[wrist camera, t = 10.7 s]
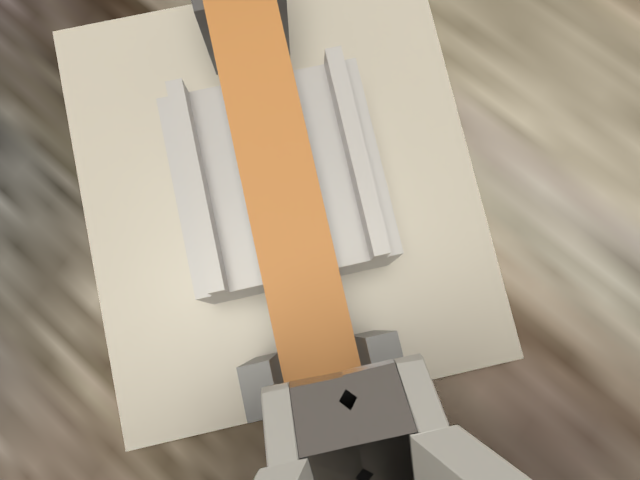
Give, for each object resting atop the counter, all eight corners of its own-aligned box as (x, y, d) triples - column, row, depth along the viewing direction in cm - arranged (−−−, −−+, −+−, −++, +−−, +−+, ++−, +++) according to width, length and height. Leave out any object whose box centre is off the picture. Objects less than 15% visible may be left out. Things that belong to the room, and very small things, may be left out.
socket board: (412, -25, 35) (458, -182, 24) (513, 356, 32) (617, 371, 21) (63, 44, 34) (-49, -87, 23) (134, 445, 31) (42, 507, 20)
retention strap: (363, 379, 24) (364, 380, 23) (287, 397, 24) (287, 399, 23) (268, -30, 26) (267, -39, 26) (199, -17, 26) (197, -25, 25)
